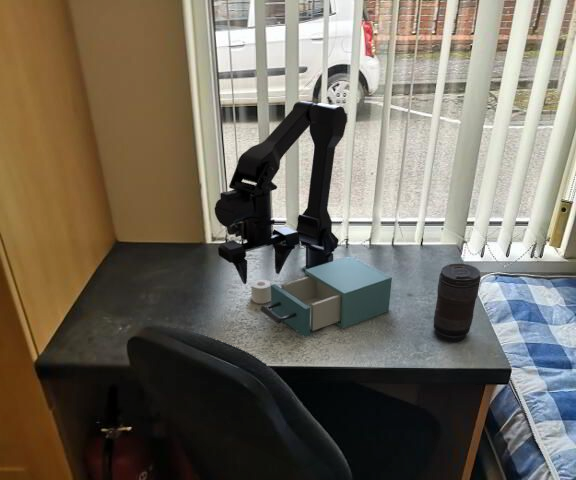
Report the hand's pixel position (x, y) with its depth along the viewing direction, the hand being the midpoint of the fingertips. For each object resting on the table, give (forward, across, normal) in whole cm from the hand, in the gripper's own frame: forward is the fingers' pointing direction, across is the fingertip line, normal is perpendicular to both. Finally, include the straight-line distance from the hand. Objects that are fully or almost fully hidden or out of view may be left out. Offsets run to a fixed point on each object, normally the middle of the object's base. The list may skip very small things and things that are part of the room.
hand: (261, 278), depth 135 cm
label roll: (+5, 0, 0) cm, 5 cm away
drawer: (+4, -1, +15) cm, 16 cm away
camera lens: (+6, -24, +38) cm, 45 cm away
